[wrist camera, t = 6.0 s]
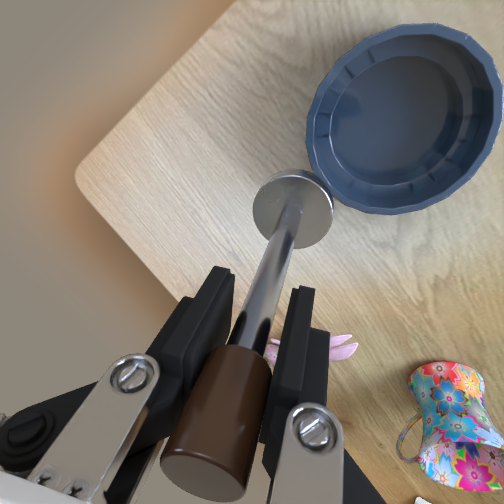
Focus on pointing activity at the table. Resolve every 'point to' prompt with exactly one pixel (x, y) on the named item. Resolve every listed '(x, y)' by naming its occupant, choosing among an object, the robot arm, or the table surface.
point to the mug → (455, 428)
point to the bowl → (405, 118)
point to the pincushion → (421, 501)
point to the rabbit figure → (334, 352)
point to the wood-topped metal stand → (245, 350)
